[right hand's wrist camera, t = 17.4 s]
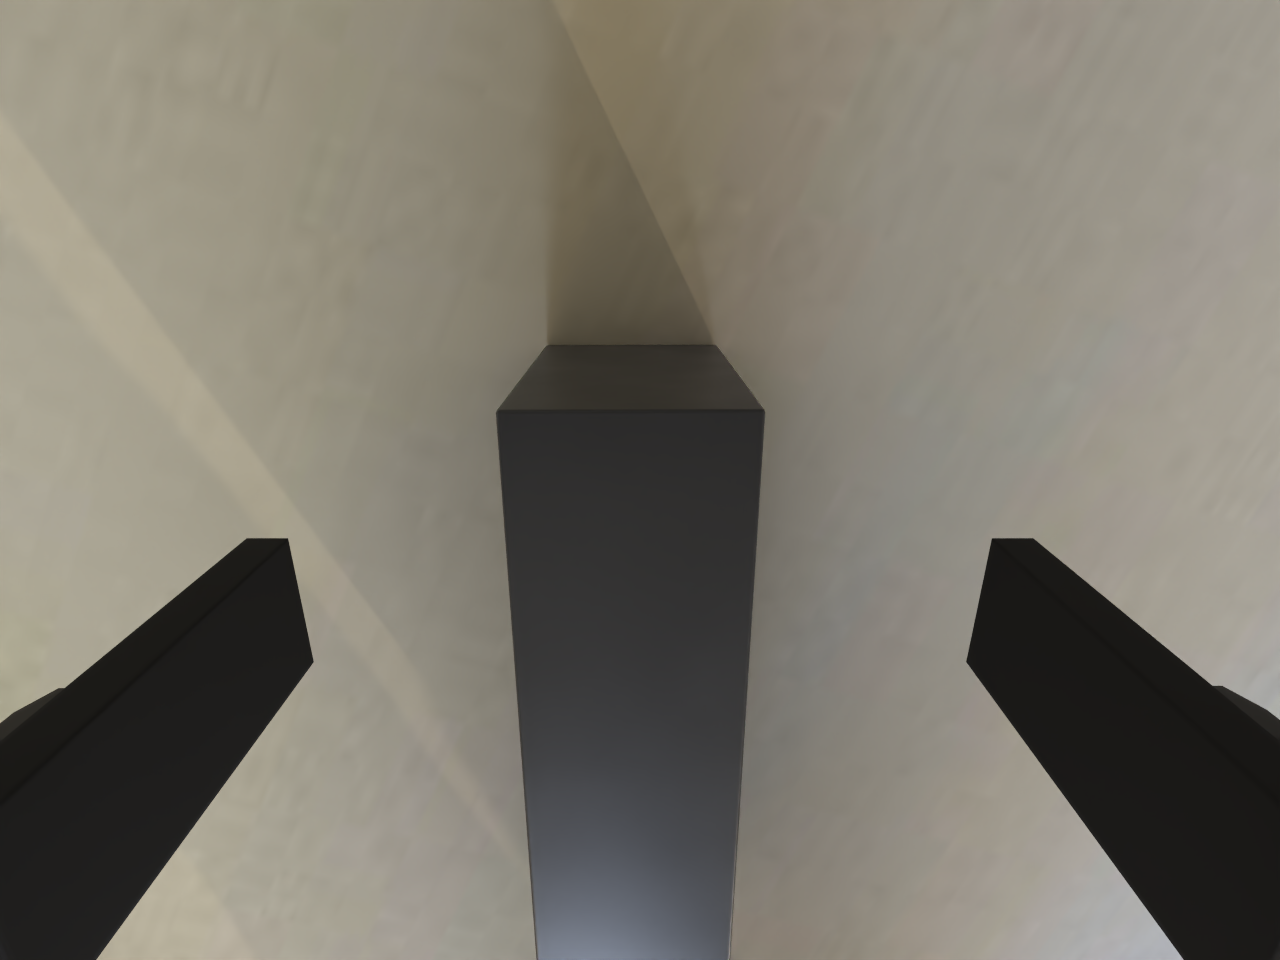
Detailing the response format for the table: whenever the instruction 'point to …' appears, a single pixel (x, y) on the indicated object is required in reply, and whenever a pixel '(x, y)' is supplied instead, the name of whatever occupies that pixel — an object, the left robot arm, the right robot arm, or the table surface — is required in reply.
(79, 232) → the table surface
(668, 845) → the bar
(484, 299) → the table surface
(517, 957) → the table surface
